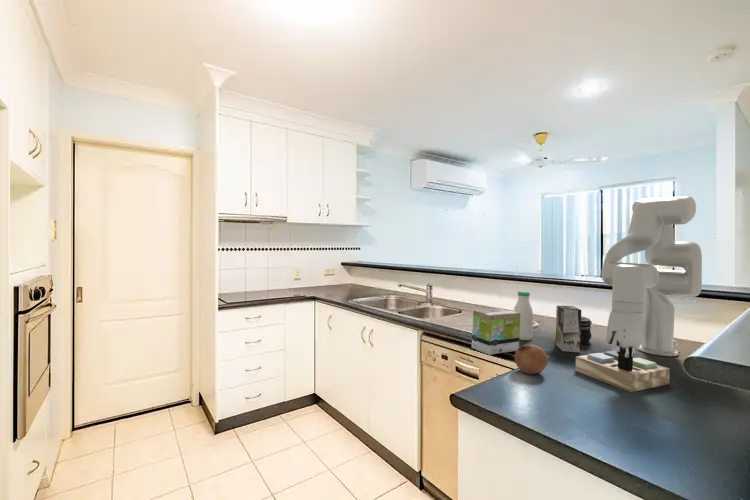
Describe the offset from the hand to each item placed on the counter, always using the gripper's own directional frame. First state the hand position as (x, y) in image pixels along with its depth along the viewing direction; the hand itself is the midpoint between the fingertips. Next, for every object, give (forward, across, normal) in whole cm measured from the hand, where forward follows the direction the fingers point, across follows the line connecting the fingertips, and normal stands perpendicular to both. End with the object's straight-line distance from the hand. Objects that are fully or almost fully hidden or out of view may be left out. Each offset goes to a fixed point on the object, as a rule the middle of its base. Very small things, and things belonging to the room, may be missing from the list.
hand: (625, 369), depth 103 cm
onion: (+4, +20, -16) cm, 26 cm away
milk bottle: (+4, -8, -48) cm, 49 cm away
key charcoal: (+1, -8, -8) cm, 11 cm away
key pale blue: (+1, 0, -7) cm, 8 cm away
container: (+4, -26, -38) cm, 46 cm away
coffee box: (+4, -14, -31) cm, 34 cm away
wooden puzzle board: (+4, -4, -4) cm, 7 cm away
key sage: (+1, -8, 0) cm, 8 cm away
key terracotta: (+3, 0, 0) cm, 3 cm away
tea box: (+4, +14, -39) cm, 42 cm away
